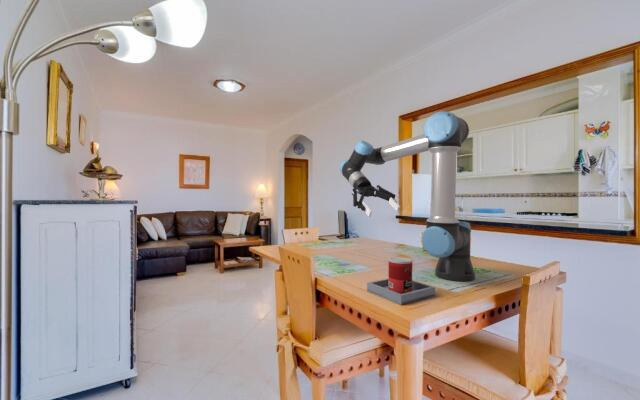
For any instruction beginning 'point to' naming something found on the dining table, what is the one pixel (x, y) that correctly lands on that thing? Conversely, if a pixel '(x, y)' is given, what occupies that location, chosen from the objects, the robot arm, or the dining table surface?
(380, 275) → the dining table surface
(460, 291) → the dining table surface
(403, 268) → the canned food
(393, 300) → the tray
